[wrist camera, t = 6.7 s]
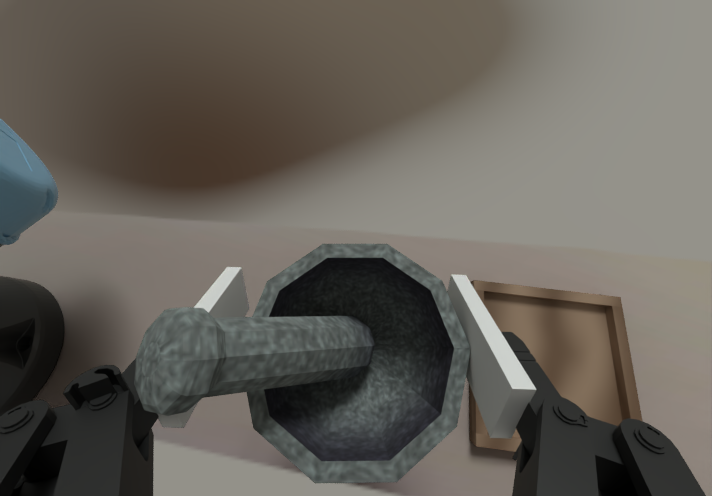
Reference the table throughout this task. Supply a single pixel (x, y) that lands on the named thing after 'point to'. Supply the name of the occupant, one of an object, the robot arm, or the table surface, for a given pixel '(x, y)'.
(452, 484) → the table surface
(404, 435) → the mortar and pestle
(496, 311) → the walnut tray
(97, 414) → the robot arm
